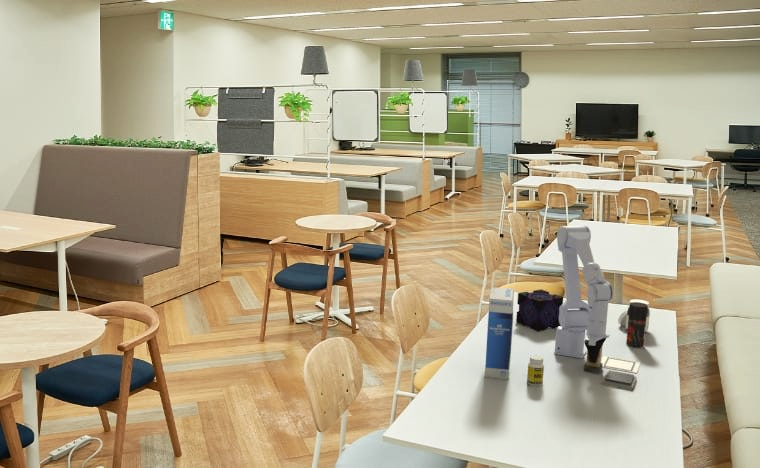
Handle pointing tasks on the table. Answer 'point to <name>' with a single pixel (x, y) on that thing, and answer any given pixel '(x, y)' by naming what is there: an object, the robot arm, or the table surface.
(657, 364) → the table surface
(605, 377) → the ink pad
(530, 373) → the supplement bottle
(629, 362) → the marked card
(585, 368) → the stamp
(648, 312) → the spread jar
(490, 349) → the string lights box
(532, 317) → the energy cube
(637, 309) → the deodorant
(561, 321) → the robot arm
